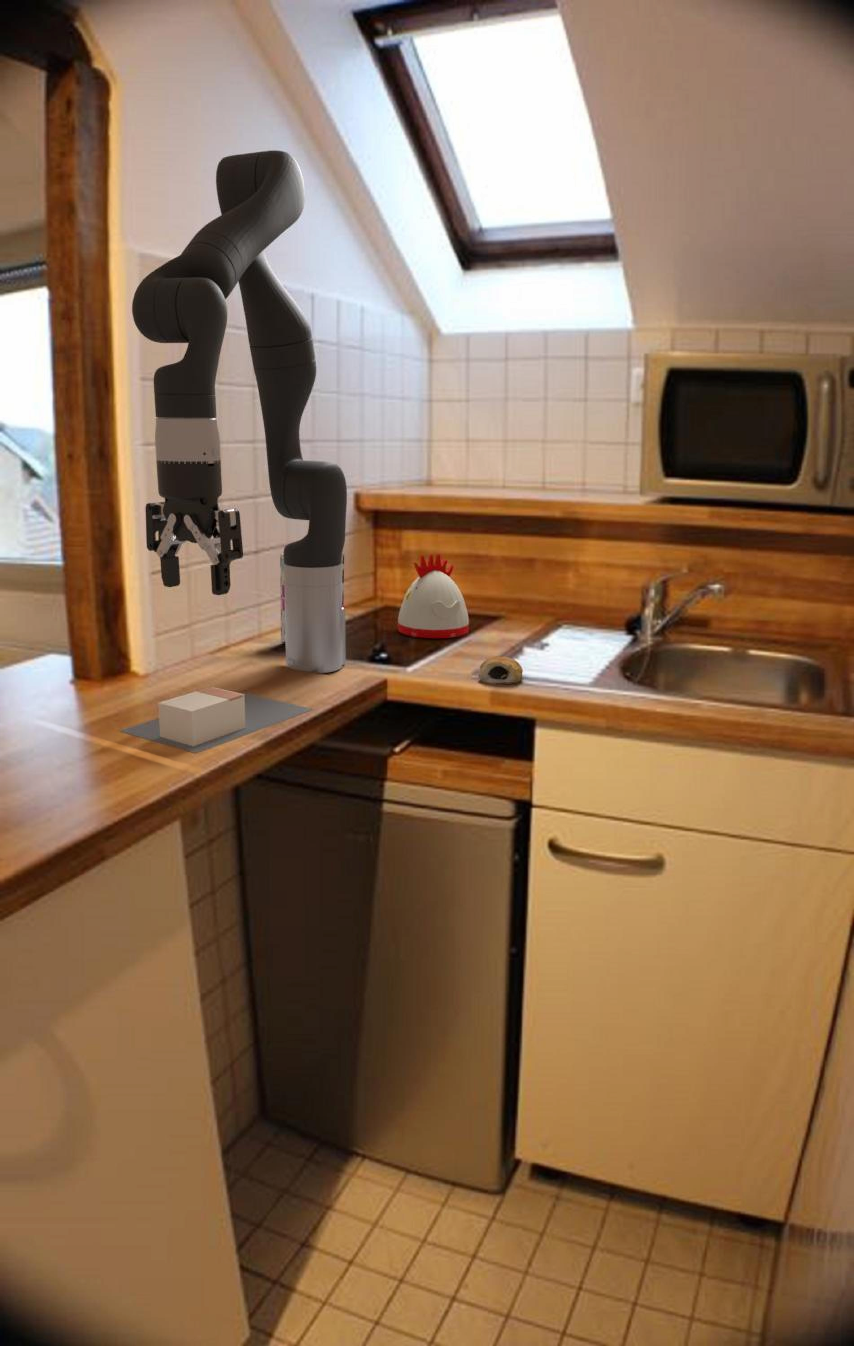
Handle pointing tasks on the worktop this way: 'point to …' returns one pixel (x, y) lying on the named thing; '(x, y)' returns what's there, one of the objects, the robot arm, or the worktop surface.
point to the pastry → (500, 670)
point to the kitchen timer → (433, 603)
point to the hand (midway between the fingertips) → (196, 590)
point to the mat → (256, 717)
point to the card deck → (201, 715)
